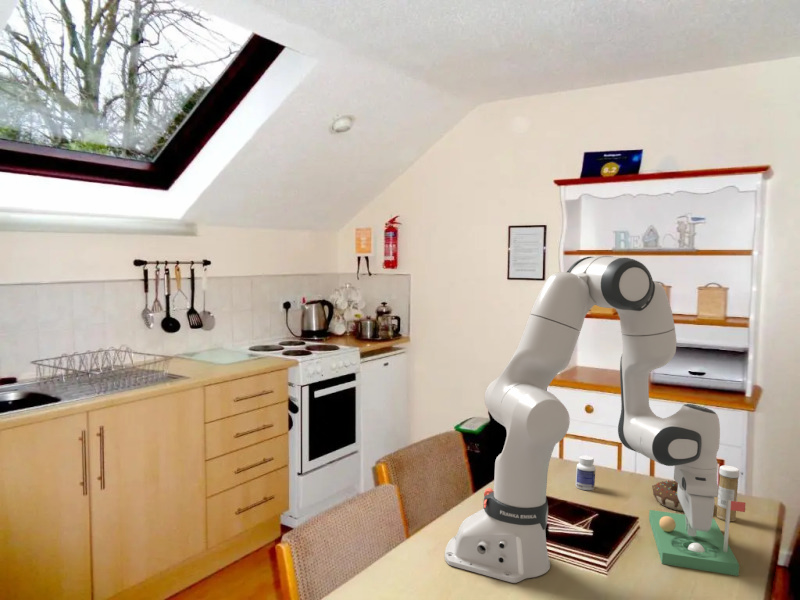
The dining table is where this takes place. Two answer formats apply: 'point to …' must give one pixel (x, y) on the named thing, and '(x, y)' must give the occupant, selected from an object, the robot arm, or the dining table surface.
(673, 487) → the donut
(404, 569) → the dining table surface
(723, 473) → the sprinkles bottle
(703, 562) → the putting mat
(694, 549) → the white ball
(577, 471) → the pill bottle
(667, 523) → the orange ball
